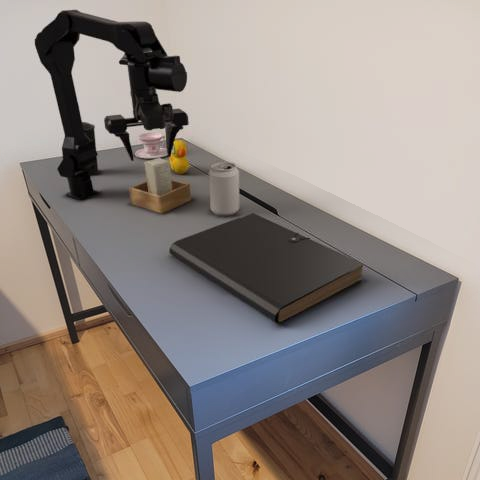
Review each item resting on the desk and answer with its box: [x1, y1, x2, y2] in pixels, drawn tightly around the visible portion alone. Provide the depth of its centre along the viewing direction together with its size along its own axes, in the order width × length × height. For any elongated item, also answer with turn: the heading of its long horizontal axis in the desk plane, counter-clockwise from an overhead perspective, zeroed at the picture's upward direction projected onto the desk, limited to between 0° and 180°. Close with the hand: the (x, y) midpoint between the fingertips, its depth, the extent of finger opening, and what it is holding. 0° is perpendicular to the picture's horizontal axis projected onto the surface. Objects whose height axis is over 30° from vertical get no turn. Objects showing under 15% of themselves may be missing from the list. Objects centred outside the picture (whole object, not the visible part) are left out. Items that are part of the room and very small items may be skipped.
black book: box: [169, 212, 365, 324], centre depth 99 cm, size 33×4×24 cm
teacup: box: [134, 132, 168, 160], centre depth 164 cm, size 12×12×6 cm
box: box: [143, 157, 172, 196], centre depth 127 cm, size 5×4×11 cm
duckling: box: [168, 139, 190, 175], centre depth 147 cm, size 11×5×10 cm, turn 22°
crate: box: [128, 178, 192, 215], centre depth 129 cm, size 11×11×4 cm
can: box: [208, 161, 240, 217], centre depth 121 cm, size 8×8×12 cm
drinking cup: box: [78, 103, 99, 176], centre depth 144 cm, size 8×8×20 cm
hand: (151, 158), depth 117 cm, fingers open, 9 cm apart
